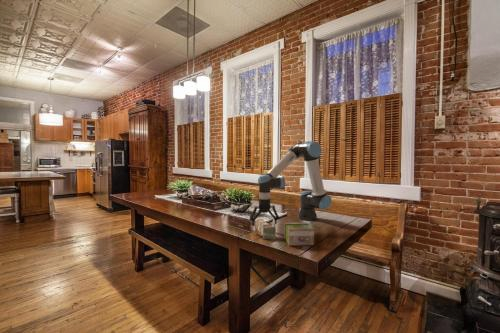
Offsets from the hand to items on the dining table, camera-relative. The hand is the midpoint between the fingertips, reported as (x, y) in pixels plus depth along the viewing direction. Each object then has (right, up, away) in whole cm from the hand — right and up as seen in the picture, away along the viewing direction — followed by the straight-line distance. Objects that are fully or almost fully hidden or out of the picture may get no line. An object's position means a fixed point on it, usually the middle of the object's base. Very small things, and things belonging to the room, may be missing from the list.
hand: (264, 229), depth 167 cm
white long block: (0, -2, +1) cm, 3 cm away
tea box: (+19, +2, -9) cm, 21 cm away
